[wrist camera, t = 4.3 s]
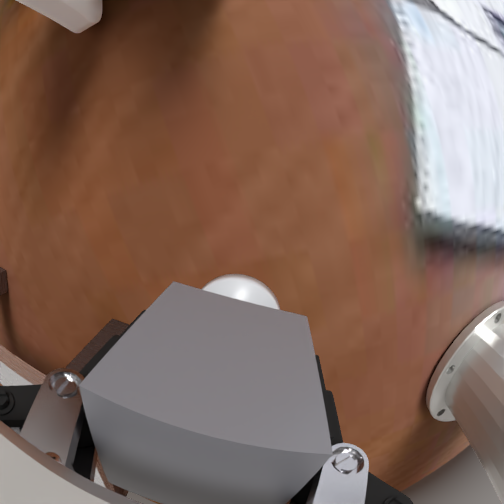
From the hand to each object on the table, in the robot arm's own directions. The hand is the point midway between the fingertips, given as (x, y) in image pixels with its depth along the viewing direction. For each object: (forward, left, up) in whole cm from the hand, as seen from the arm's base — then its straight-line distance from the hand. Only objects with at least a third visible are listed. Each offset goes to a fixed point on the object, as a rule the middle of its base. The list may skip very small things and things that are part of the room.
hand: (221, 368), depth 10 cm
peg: (0, 0, -5) cm, 5 cm away
